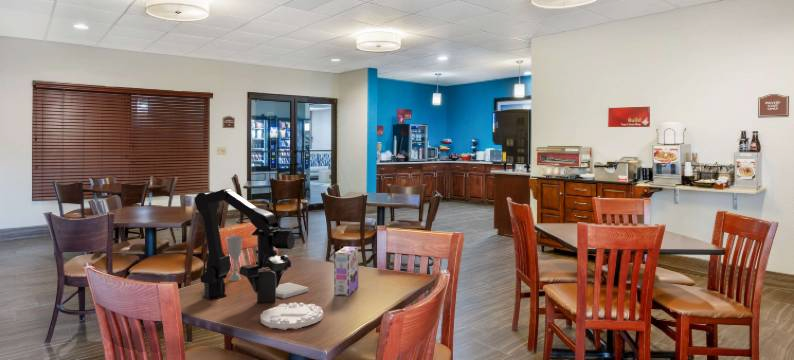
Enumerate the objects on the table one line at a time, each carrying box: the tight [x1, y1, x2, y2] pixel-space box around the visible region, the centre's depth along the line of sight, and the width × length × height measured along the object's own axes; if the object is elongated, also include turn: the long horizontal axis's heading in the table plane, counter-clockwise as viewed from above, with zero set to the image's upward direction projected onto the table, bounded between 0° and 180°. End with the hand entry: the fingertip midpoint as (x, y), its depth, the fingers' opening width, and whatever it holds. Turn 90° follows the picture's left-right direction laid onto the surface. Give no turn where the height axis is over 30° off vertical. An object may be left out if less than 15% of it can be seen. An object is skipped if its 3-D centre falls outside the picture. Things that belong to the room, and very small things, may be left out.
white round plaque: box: [260, 302, 324, 330], centre depth 161 cm, size 20×20×3 cm
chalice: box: [225, 235, 243, 282], centre depth 209 cm, size 7×7×18 cm
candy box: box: [333, 246, 359, 297], centre depth 192 cm, size 14×6×16 cm, turn 168°
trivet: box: [276, 282, 309, 299], centre depth 191 cm, size 12×12×2 cm
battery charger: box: [256, 269, 277, 304], centre depth 179 cm, size 7×4×11 cm, turn 102°
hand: (266, 290), depth 179 cm, fingers open, 8 cm apart
